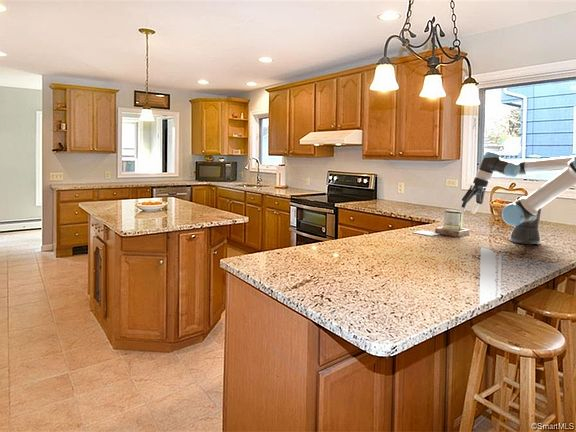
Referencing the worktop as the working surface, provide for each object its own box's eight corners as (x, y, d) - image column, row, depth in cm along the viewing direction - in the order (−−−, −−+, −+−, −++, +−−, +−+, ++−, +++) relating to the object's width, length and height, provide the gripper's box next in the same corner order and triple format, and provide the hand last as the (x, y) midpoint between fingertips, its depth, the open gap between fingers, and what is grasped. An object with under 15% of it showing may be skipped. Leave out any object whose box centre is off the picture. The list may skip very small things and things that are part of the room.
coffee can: (441, 231, 255) (443, 208, 253) (458, 232, 254) (460, 209, 252) (445, 234, 244) (447, 211, 242) (463, 235, 243) (466, 212, 241)
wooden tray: (469, 234, 249) (469, 229, 248) (458, 236, 239) (459, 231, 239) (446, 230, 259) (446, 225, 259) (435, 232, 249) (435, 228, 249)
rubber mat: (441, 234, 246) (441, 233, 246) (431, 236, 238) (431, 235, 237) (422, 231, 254) (422, 230, 254) (412, 232, 246) (412, 232, 246)
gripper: (486, 178, 244) (471, 211, 251) (465, 174, 228) (450, 209, 235) (498, 182, 239) (483, 216, 246) (477, 179, 223) (462, 215, 230)
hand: (467, 213), depth 240 cm, fingers open, 13 cm apart
